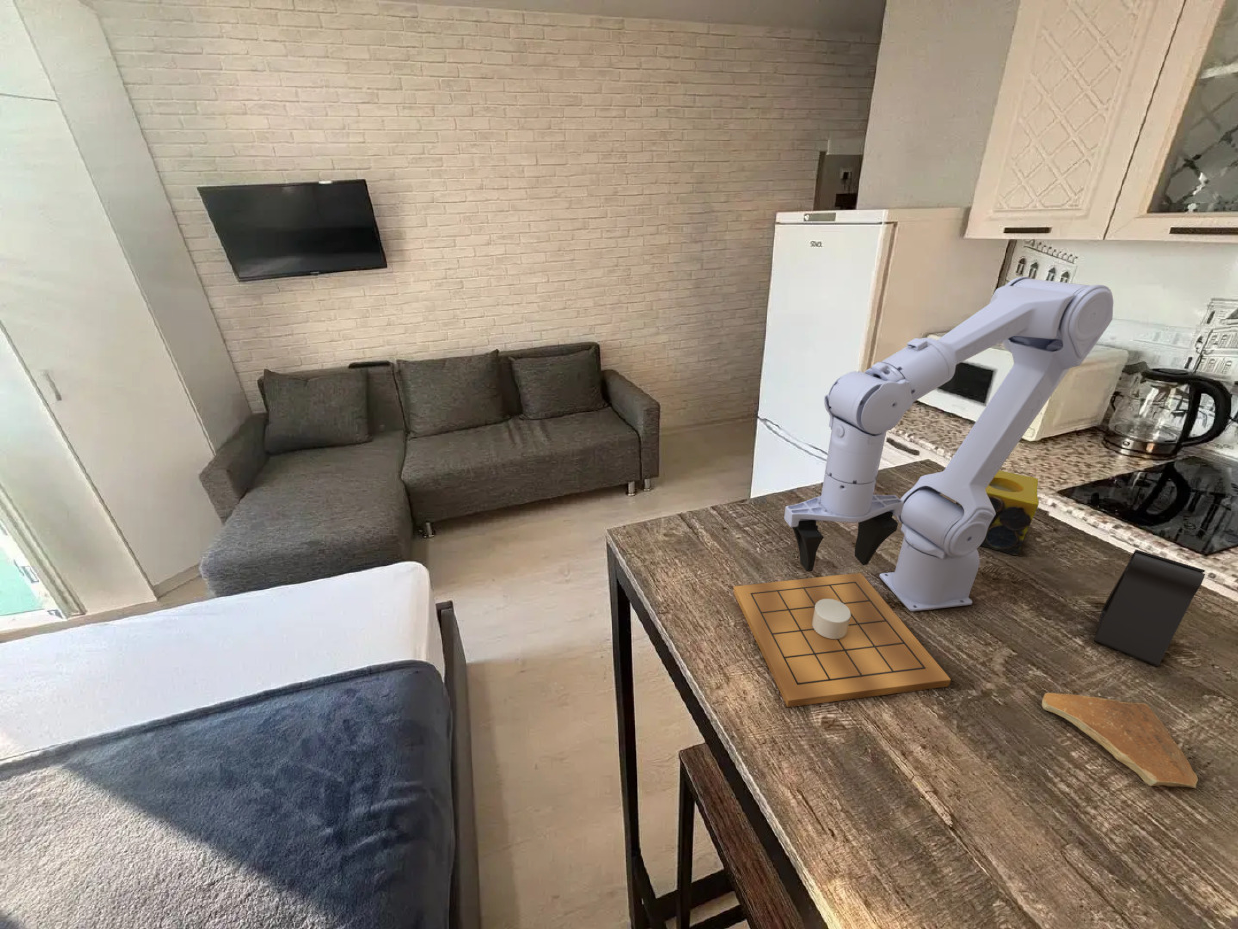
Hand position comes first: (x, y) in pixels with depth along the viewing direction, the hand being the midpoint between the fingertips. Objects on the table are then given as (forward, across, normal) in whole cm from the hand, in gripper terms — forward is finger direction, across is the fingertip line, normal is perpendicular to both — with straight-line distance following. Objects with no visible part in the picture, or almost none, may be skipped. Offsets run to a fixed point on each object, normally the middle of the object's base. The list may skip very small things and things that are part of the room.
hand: (833, 563), depth 67 cm
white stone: (+8, +1, +3) cm, 9 cm away
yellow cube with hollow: (+10, -36, -15) cm, 40 cm away
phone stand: (+10, -37, +10) cm, 39 cm away
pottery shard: (+10, -21, +22) cm, 32 cm away
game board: (+9, +1, +3) cm, 10 cm away
